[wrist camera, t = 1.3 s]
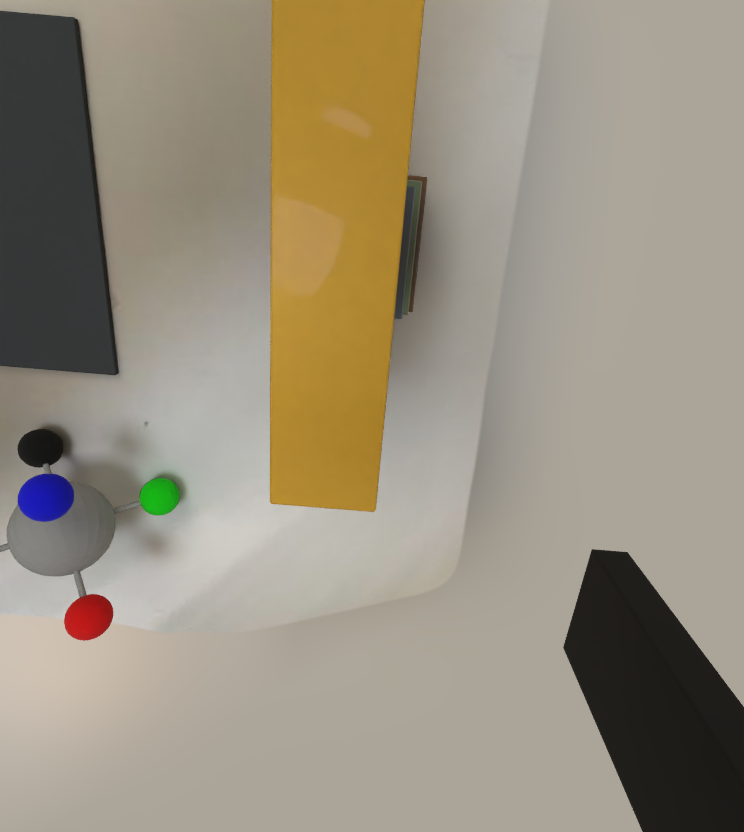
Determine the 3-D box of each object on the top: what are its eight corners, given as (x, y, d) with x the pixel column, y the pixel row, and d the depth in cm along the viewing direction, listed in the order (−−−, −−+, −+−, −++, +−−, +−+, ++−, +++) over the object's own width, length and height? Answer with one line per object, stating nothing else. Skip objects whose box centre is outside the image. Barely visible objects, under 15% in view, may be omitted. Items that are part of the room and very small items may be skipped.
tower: (304, 172, 29) (255, 142, 18) (421, 182, 29) (445, 159, 18) (300, 292, 32) (256, 331, 21) (409, 301, 32) (423, 345, 21)
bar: (300, -44, 16) (271, -137, 12) (422, -33, 16) (436, -121, 12) (290, 452, 23) (269, 504, 19) (376, 459, 23) (375, 512, 19)
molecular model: (10, 524, 39) (-104, 618, 30) (46, 387, 35) (-74, 447, 25) (149, 578, 41) (82, 682, 32) (200, 453, 36) (140, 532, 27)
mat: (-146, -1, 27) (-153, -4, 26) (78, 19, 27) (73, 17, 26) (-57, 359, 34) (-62, 360, 34) (118, 373, 34) (115, 375, 34)
